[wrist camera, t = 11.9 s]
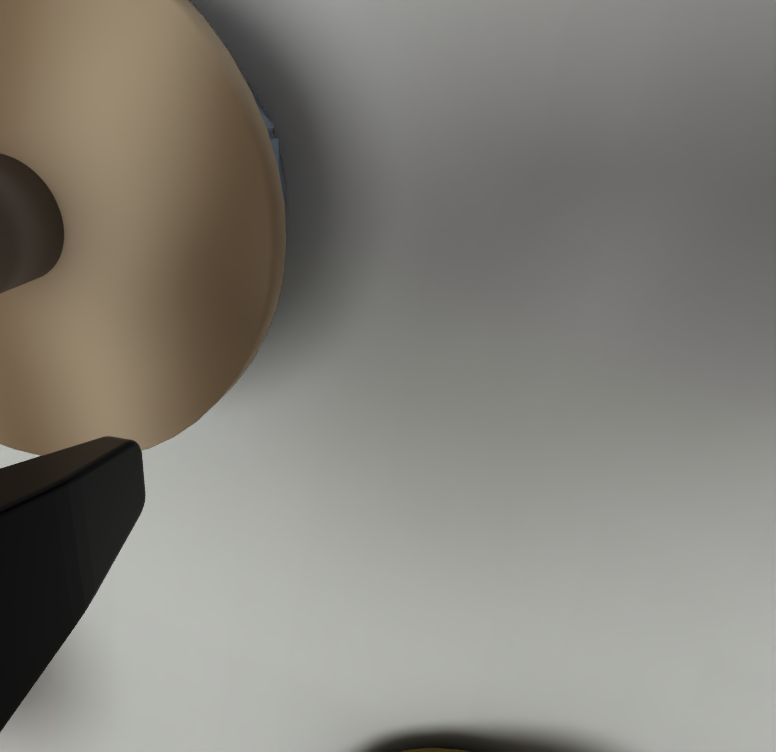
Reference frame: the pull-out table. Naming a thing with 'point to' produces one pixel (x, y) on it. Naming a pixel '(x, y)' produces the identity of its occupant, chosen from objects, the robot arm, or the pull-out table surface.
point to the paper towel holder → (128, 222)
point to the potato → (433, 750)
